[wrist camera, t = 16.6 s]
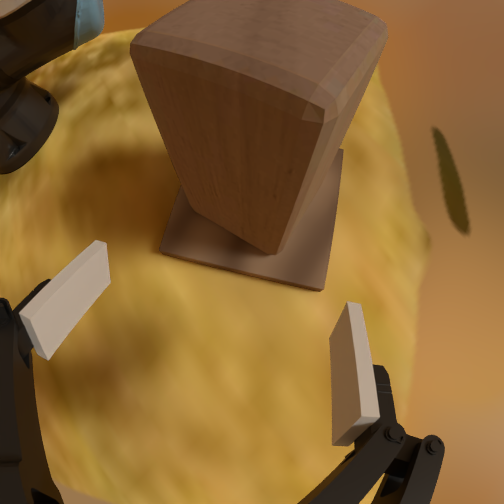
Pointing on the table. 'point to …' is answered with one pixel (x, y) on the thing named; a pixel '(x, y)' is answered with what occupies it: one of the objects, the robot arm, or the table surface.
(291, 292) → the table surface
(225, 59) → the wooden block
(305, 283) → the walnut board
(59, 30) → the robot arm
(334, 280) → the table surface
